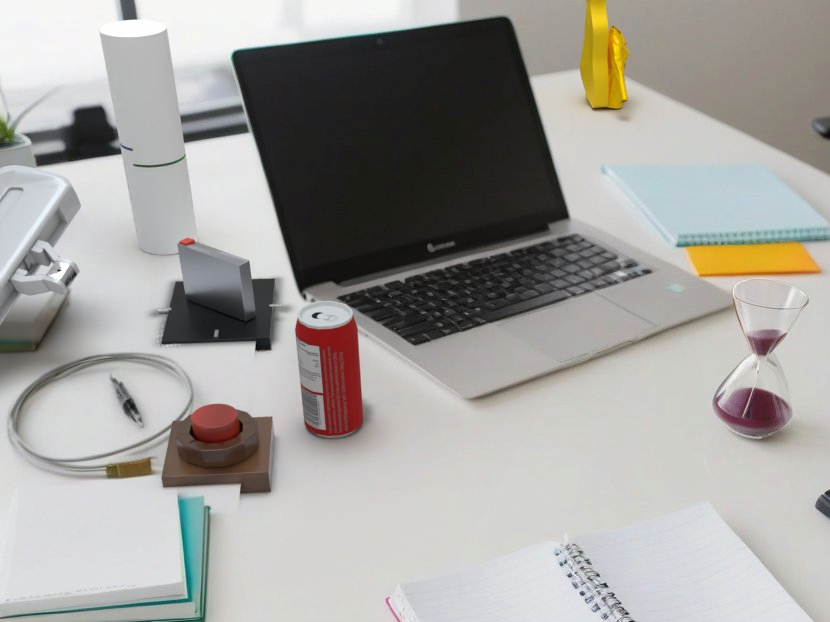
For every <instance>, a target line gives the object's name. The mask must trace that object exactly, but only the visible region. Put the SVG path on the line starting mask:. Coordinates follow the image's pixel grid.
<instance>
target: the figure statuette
mask: <svg viewBox="0 0 830 622" xmlns="http://www.w3.org/2000/svg"><path fill="white" fill-rule="evenodd" d="M583 32H584V33H583V42H582V48H581V55H580V62H579V73H580V78H581V83H582V85H583V90H584V93H585V98H586V99H587V101H588V103H589V105H590V107H591V108H592V109H596V108H597V109H598V108H610V109H616V110H617V109H622V108H623V103H626V102H628V101H629V99H628V94H627V93H628V91H627V88H626V87H627V86H626V78H625V68H626V63H627V61H628V58H629V57H630V56H629V55H630V53H631V51H630V50H629V49H628V48H627V45H628V44H627V43H628V41H627V40H626V39H625V38H624V34H622V31H621V30H620V29H618V27H616V26H615V25H611V26H609V19H608V12H607V0H586V1H585V19H584V31H583Z"/></svg>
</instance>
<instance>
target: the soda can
mask: <svg viewBox="0 0 830 622" xmlns="http://www.w3.org/2000/svg"><path fill="white" fill-rule="evenodd" d="M353 312H354V311H353V308H351V307H349V306H348V305H347V304H345V303H341V302H339V301H338V302H337V301H334V300H321V301H315V302H310V303H308V304H305V305H303V306H302V307H301V308H300V309H299V310H298V311H297V314H296V315H297V318H296V323H295V328H294V333H295V344H296V353H297V362H298V372H299V374H298V375H299V385H300V393H301V403H302V414H303V423H304V426H305V427H306V429H307V430H309V431H310V432H312V433H313V434H315V435H316V436H317V437H322V438H326V439H337V438H342V437H346V436H349V435H351V434H353V433H354V432H356V431H357V430H358V429H359V428H360V427H361V426H362V425H363V422H364V409H363V408H364V407H363V396H362V395H363V392H362V378H361V363H360V362H361V360H360V359H361V358H360V347H359V343H360V342H359V328H358V324H357V322H356V319H355V316H354V313H353Z"/></svg>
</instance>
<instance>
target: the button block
mask: <svg viewBox="0 0 830 622" xmlns="http://www.w3.org/2000/svg"><path fill="white" fill-rule="evenodd" d="M235 409H236V408H235ZM236 410H237V412H238V418H239V425H240V432H239V434H238V436H236V437H235V438H233V439H230V440H228V441H225V442H222V443H204V442H200V441H198V440H196V438H195V437H194V434H193V428H192V422H191V416H192V414H193V413H191V414H189V415H188V416H186V417H185V418H184V419H182V420H172V423H171V428H170V432H169V438H168V441H167V447H166V452H165V457H164V462H163V467H162V471H161V472H162V473H161V476H160V478H161V479H160V480H161V483H162V488H174V487H175V488H176V487H195V486H213V485H234V484H236V485H237V484H240V487H239V495H240V494H243V495H244V494H260V493H271V492H272V483H273V482H272V481H273V465H274V455H275V454H274V453H275V451H274V450H275V439H276V435H275V425H274V418H273V416H252V415H251V414H250V413H249V412H248V411H244V410H240V409H236Z"/></svg>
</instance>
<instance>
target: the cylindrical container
mask: <svg viewBox="0 0 830 622" xmlns="http://www.w3.org/2000/svg"><path fill="white" fill-rule="evenodd" d="M98 32H99V38H100V43H101V48H102V53H103V58H104V59H103V60H104V64H105V71H106V74H107V76H106V77H107V81H108V87H109V92H110V97H111V103H112V108H113V113H114V120H115V125H116V130H117V136H118V141H119V147H120V151H121V152H120V153H121V157H122V164H123V168H124V173H125V174H124V175H125V180H126V184H127V190H128V196H129V202H130V206H131V207H130V208H131V212H132V217H133V224H134V229H135V235H136V241H137V246H138V248H139V249H140V250H141V251H142V252H144V253H146V254H151V255H155V256H156V255H158V256H168V255H177V254H179V252H178V245H177V244H178V243H179V241H181V240H183V239H186V238H191V239H194V240H195V241H196V242H199V234H198V228H197V221H196V214H195V207H194V200H193V194H192V187H191V181H190V174H189V166H188V161H187V159H188V158H187V154H186V147H185V140H184V134H183V133H184V132H183V127H182V120H181V114H180V106H179V100H178V93H177V86H176V79H175V74H174V66H173V59H172V53H171V47H170V46H171V45H170V41H169V40H170V39H169V33H168V26H167V25H166V23H164V22H160V21H157V20H151V19H126V20H117V21H112V22H109V23H106V24H104V25H102V26H100V27H99V29H98Z"/></svg>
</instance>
